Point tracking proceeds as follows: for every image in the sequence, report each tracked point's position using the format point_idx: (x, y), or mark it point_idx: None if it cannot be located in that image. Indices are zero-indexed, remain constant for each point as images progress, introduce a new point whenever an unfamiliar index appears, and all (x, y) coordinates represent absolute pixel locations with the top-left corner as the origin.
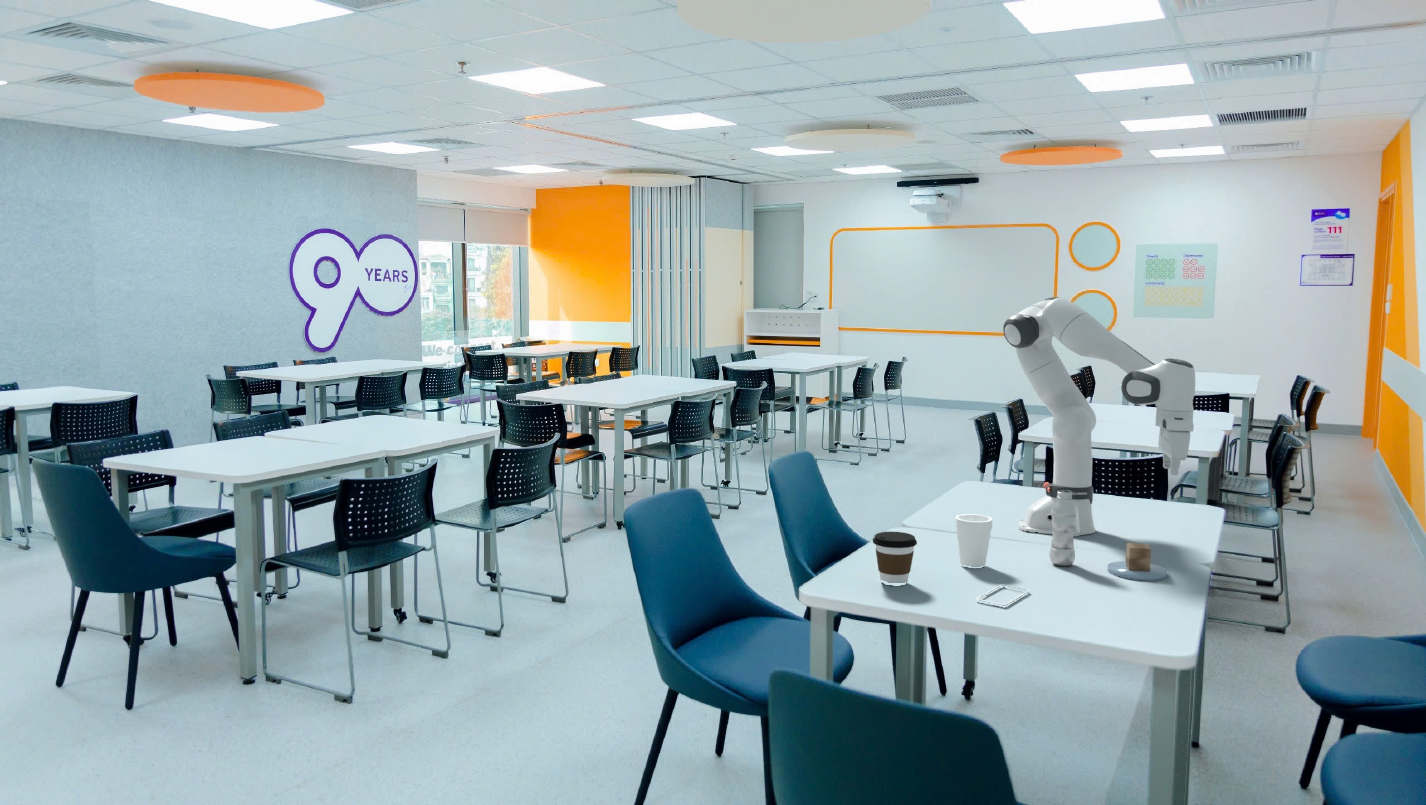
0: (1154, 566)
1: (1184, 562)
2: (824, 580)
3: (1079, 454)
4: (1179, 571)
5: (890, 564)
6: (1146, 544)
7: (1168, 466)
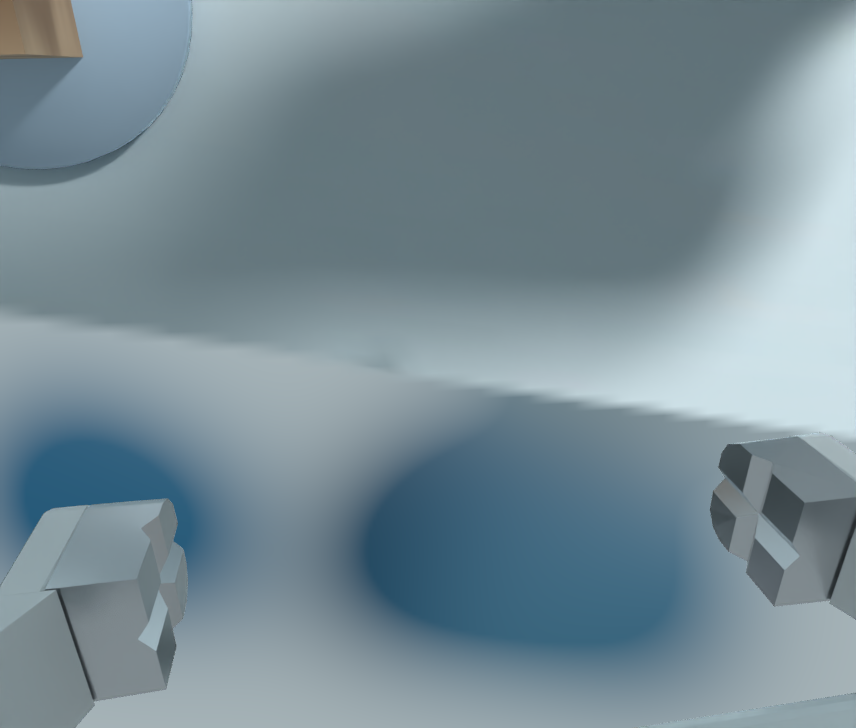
0: (112, 109)
1: (377, 291)
2: None
3: None
4: (174, 245)
5: None
6: (8, 42)
7: (739, 514)
